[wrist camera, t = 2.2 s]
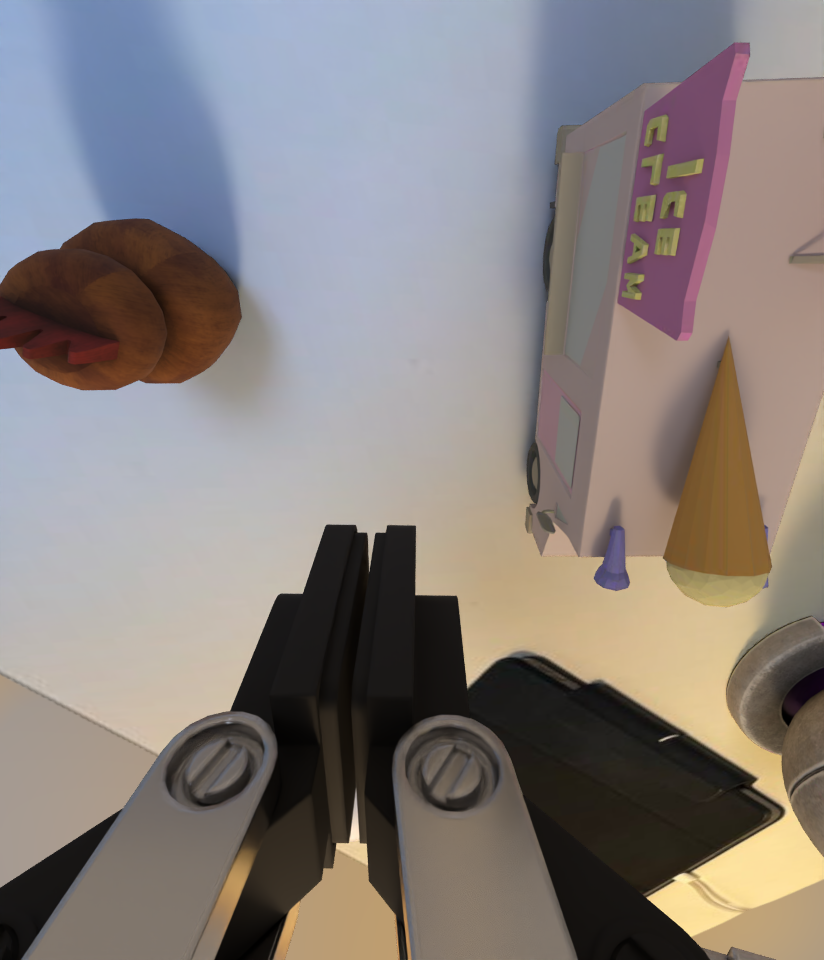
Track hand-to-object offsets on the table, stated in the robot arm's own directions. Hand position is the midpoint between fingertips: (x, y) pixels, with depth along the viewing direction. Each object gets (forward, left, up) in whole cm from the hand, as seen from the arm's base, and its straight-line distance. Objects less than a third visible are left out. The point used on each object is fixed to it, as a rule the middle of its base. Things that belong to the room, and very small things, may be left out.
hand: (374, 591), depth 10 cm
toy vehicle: (-1, +11, -20) cm, 23 cm away
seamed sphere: (+31, -3, -20) cm, 37 cm away
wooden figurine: (-3, -11, -20) cm, 23 cm away
